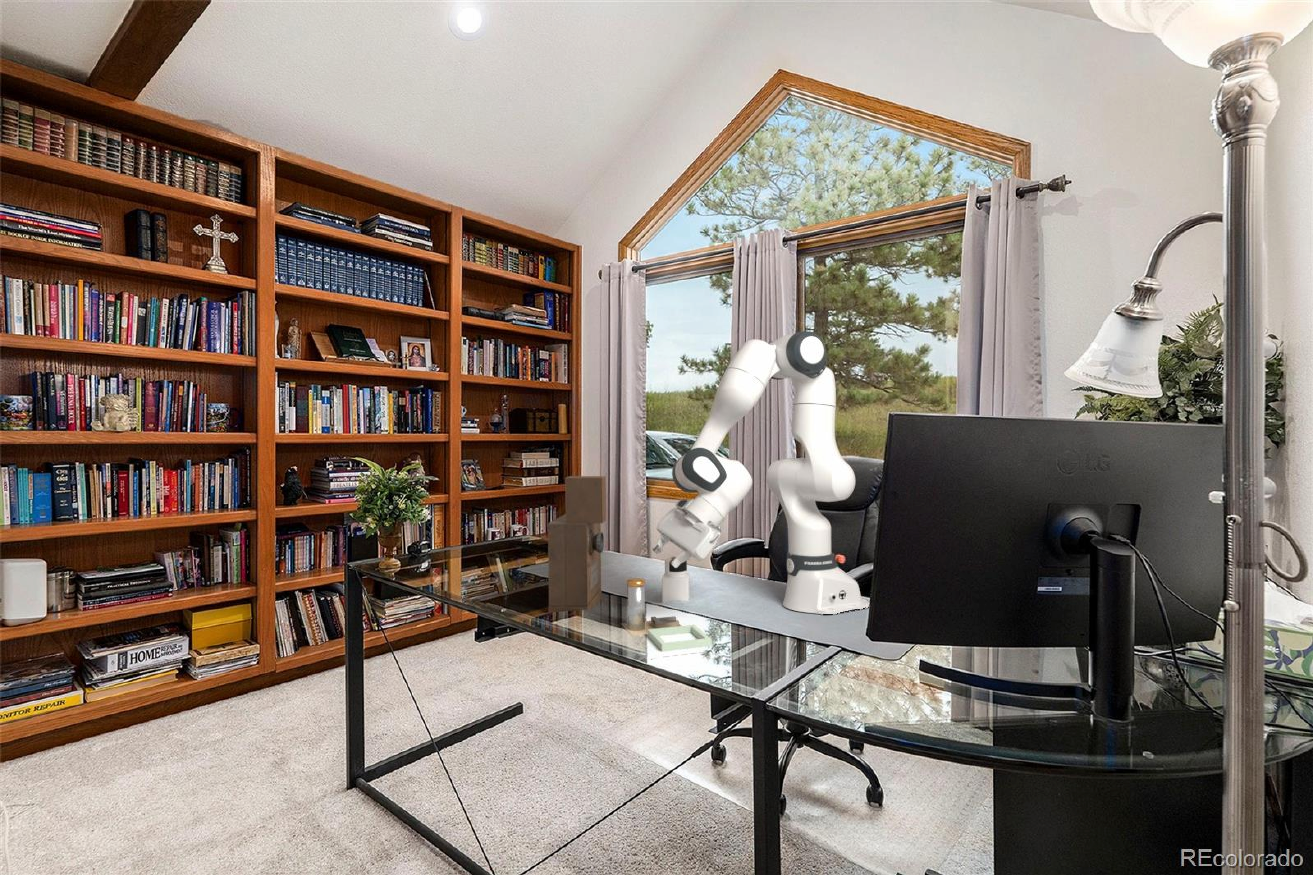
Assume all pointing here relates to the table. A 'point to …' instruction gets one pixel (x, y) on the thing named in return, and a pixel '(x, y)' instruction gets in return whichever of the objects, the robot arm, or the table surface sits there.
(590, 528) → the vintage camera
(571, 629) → the table surface
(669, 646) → the tray
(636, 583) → the glass spice jar
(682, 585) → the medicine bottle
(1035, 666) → the table surface
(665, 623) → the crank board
